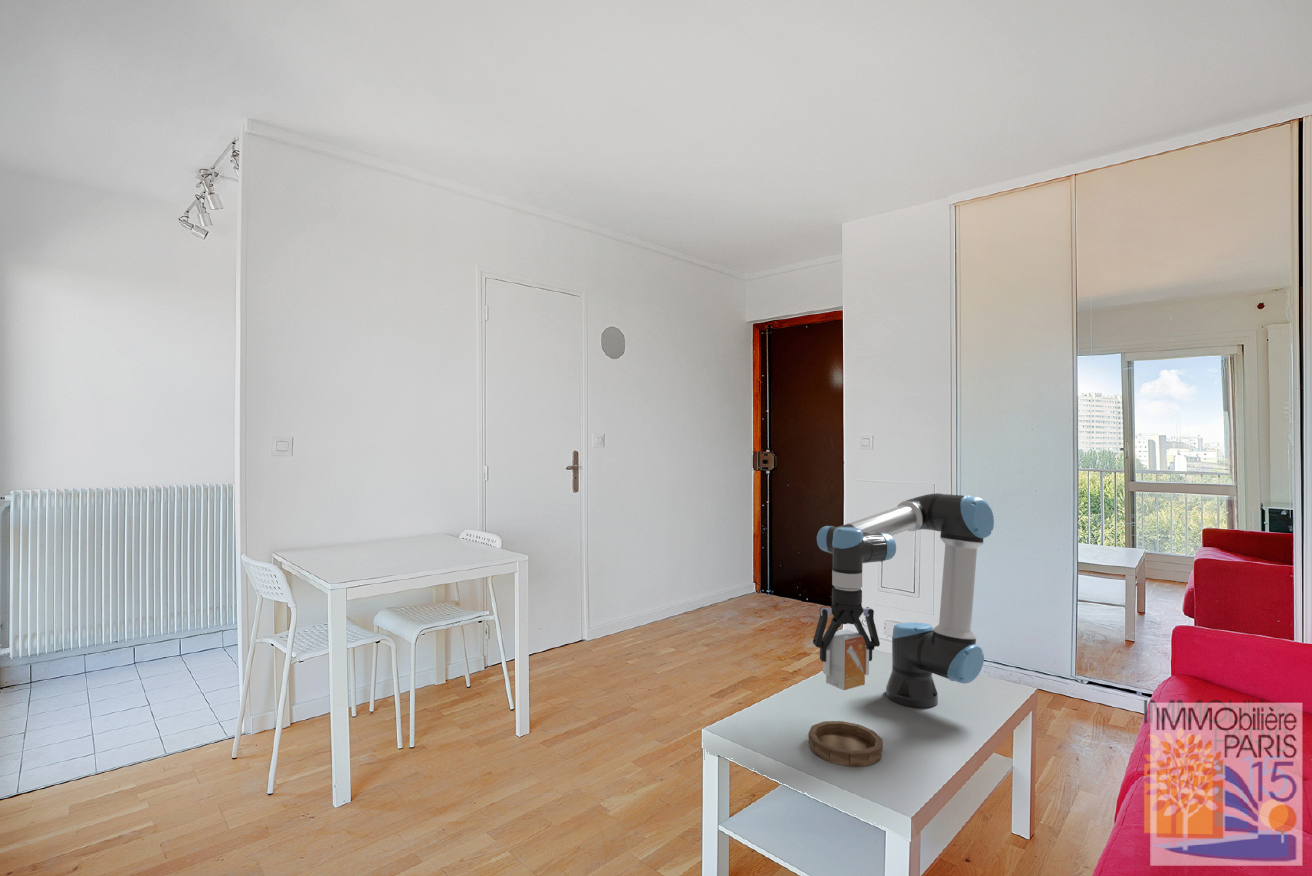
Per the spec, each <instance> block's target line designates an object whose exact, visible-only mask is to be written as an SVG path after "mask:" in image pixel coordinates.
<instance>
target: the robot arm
mask: <svg viewBox="0 0 1312 876" xmlns="http://www.w3.org/2000/svg"><path fill="white" fill-rule="evenodd" d="M994 525H995V518H994V513H993V510H992V508H991V506H990V505H989V503H988V502H987V500H985V499H984V498H981V497H978V496H973V495H962V494H961V495H960V494H946V493H940V492H939V493H930V494H929V493H927V494H923V495H920V496H916V497H913V498H910V499H907V500H904V501H901V502H900V503H898V505H897V506H896V507H893V508H890V509H887V510H884V511H882V512H879V513H876V514H873V515H869V516H867V517H864V518H860V519H858V520H855V521H852V522H849V523H846V524H843V525H840V526H832V525H825V526H823V527H821V528H820V529H819V530H818V533H817V536H816V542H817V543H816V544H817V546H818V548H819V549H820V550H821V551H823V552H826V553H829V554H832V570H831V571H832V573H831V576H832V577H831V578H832V580H831V582H832V583H831V585H832V588H831V606H830V607H828V608H827V607H826V608H825V607H824V606H823V607H820V608H819V619H818V622H817V625H816V629H815V632H814V636H813V639H812V644H813V645H814V646H815V647H816V648H818V649H819V659H820V661H821V662H822V673H823V674H824V675H825V676H826V675H827V676H829V673H830V650H829V649H828V648H827V647H828V645H829V644H830V642H831V640H832V638H833V636H834V635H835V633H836V631H838V630H839V628H840V627H841V625H848V624H849V625H854V627H855V628H856V632H857V633H859V634H861V635H862V636H864V640H865V676H869V674H870V662H872V660H873V651H874V650H875V647H877V648H878V647H880V645H881V643H880V639H879V636H878V630H877V627H876V624H875V620H874V613H875V610H874V609H872V608H871V607H870V606H867V607H863V605H862V603H863V590H862V589H861V588H862V587H863V565H864V564H868V563H877V562H880V563H882V562H885V561H889V560H892V559H893V558H894V556H895V555H896V553H897V544H896V540H895V539H894V537H893V536H895V535H897V534H900V533H902V532H906V531H908V532H916V531H919V530H927V531H935V532H936V531H937V532H940V536H939V539H940V540H941V541H942V542H943V543H944V545H945V546H944V556H943V557H944V558H943V569H942V580H941V582H942V583H941V591H940V592H941V594H940V609H939V619H938V624H937V625H936V626H935V627H933V626H932V625H931V624H930V623H929V624H928V623H924V622H901V623H897V624H895V625H894V626H893V628H892V637H891V640H892V642H891V644H892V645H891V650H892V651H891V652H892V653H891V654H892V655H891V656H892V657H891V660H892V661H891V662H892V663H891V664H892V666H891V673H890V676H889V678H888V680H887V684H886V686H885V687H886V688H885V696H886V697H887V698H888V699H889V700H891V701H892V702H895V703H896V704H899V705H902V706H905V707H912V708H921V709H922V708H924V709H925V708H931V707H935V706H936V705H937V704H938V703H939V694H938V690H937V687H936V684H935V680H934V678H933V675H934V674H935V675H936V676H939V677H942V678H945V679H948V680H949V681H951V682H956V683H960V684H969V683H972V682H973V681H975V679H977V677H978V676H979V675H980V673H981V671H982V670H983V666H984V661H985V655H984V651H983V649H982V647H980V646H979V645H978V644H977V636H976V635H975V634H974V632H973V631H972V620H973V619H972V618H973V606H974V605H973V604H974V591H975V578H976V564H977V553H978V548H979V547H981V546H982V545H983V544H984V539H986V538H988V537H989V536H990V535H991V534H992V531H993V530H994V527H995V526H994ZM862 614H863V616H865V617H864V618H865V622H866V626H867V629H868V633H867V632H866V630H865V628H864V626H863V623H862V622H861V619H860V618H861V616H862ZM830 615H832V618H831V621H830V623H829V626H828V627H826V626H827V624H828V620H829V619H828V618H829V617H830ZM826 628H827V630H826ZM825 630H826V631H825ZM868 634H869V636H868ZM869 637H870V638H869Z"/></svg>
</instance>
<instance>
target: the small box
mask: <svg viewBox="0 0 1312 876" xmlns="http://www.w3.org/2000/svg"><path fill="white" fill-rule="evenodd" d="M865 647H866V646H865V640H864V636H862V635H861V634H859V633H858V631H854V630H851V629H848V628H847V629H842V630H837V631H836V633H835V635H834V636H833V638H832V640H831V642H830V644H829V645H828V647H827V648H828V649H829V650H830V673H829V676H827V675H826V674H825V676H826V677H825V678H826V679H825V683H826V684H828V685H830V686H832V687H835V688H837V689H840V690H843V691H847V690H851V689H854V688H857V687H860V686H864V685H865V684H866V682H865V681H866V675H865Z"/></svg>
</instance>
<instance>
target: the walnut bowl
mask: <svg viewBox="0 0 1312 876" xmlns="http://www.w3.org/2000/svg"><path fill="white" fill-rule="evenodd" d="M807 737H808V739H807V741H808V744H809V749H810V750H811V752H812V753H813V754H814V755H816V756H817V757H818V758H820V759H821V760H824V761H825V762H828V763H831V764H835V765H838V766H843V767H849V768H850V767H852V768H862V767H869V766H873V765H875V764H877V763H879V762H880V761H881V759H882V754H883V742H884V741H883V739H882V737H881V736H880V735H879V734H878V733H877V732H876V731H875V730H873V729H870V728H868V727H866V726H864V725H861V724H858V723H854V722H849V721H844V720H828V721H827V720H826V721H821V722H818V723H816V724H813V725H811V726H810V729H809V731H808V736H807Z"/></svg>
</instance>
